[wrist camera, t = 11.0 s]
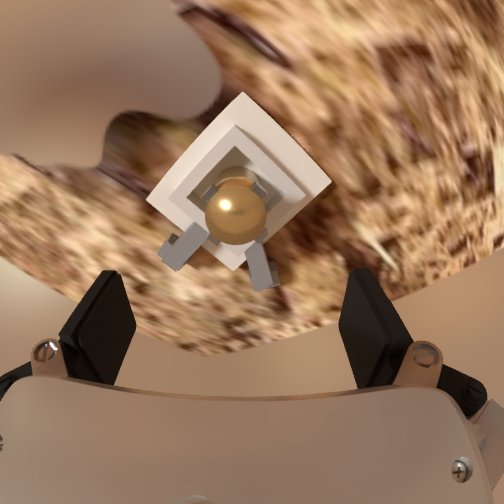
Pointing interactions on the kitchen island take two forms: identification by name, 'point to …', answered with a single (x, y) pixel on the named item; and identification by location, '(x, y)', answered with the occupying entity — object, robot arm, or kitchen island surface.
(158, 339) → the kitchen island surface
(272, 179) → the shaft stand
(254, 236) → the gold rounded cylinder
